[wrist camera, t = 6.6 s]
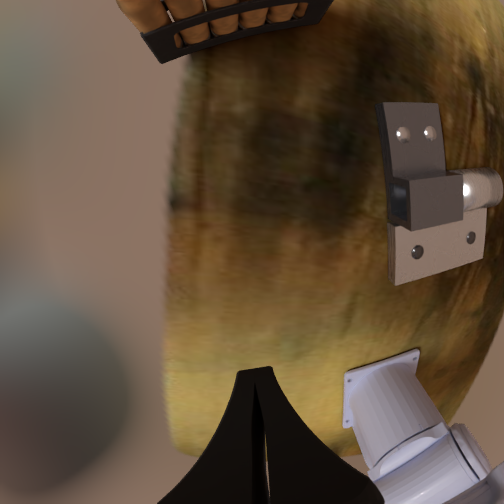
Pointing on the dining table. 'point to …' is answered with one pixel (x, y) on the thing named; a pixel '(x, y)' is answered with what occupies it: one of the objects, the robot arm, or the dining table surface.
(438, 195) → the loose leaf
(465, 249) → the fixed leaf
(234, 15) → the ammunition clip
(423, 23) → the dining table surface
